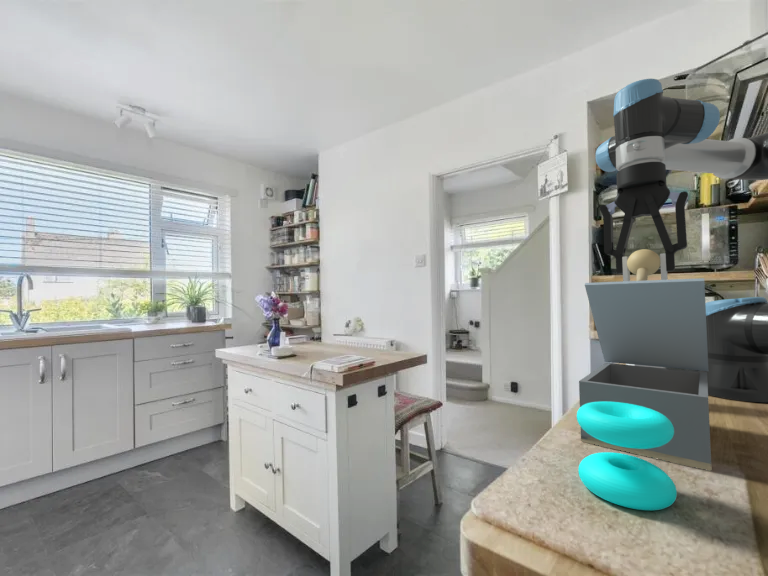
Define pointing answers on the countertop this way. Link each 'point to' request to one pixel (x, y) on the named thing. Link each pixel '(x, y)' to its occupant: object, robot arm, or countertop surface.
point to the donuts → (621, 471)
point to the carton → (657, 407)
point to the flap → (651, 318)
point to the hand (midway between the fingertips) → (645, 290)
